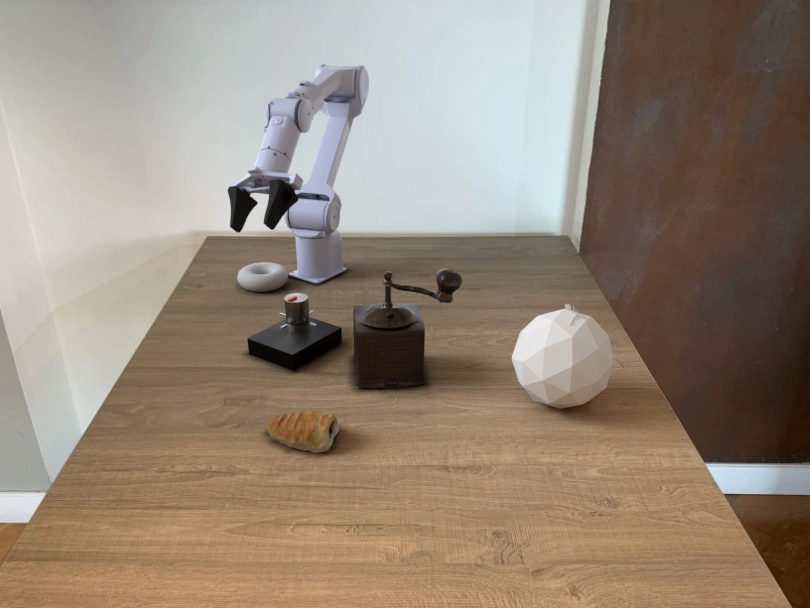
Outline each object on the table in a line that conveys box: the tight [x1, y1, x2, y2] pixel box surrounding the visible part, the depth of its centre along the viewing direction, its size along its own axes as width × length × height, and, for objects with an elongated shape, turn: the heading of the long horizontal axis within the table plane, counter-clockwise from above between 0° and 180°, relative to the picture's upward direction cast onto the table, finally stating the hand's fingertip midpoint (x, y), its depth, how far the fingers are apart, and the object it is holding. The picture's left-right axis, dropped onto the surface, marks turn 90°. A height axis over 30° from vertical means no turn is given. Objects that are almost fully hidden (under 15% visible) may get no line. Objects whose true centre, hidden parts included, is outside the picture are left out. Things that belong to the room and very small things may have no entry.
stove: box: [246, 310, 343, 372], centre depth 124 cm, size 14×12×3 cm
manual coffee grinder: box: [352, 268, 463, 390], centre depth 112 cm, size 16×11×18 cm
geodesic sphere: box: [511, 303, 615, 410], centre depth 105 cm, size 15×14×14 cm
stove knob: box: [283, 292, 310, 324], centre depth 125 cm, size 4×4×4 cm
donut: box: [236, 261, 289, 293], centre depth 147 cm, size 10×4×10 cm
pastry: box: [266, 409, 340, 454], centre depth 99 cm, size 9×7×4 cm
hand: (251, 228), depth 124 cm, fingers open, 7 cm apart
